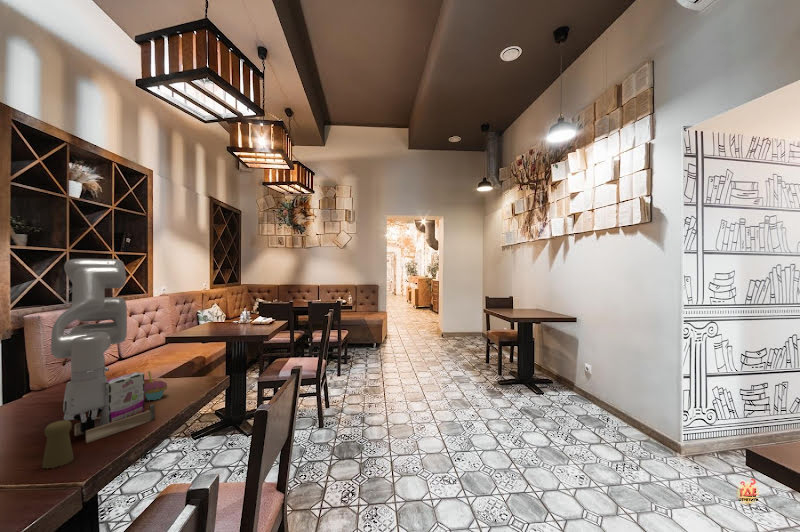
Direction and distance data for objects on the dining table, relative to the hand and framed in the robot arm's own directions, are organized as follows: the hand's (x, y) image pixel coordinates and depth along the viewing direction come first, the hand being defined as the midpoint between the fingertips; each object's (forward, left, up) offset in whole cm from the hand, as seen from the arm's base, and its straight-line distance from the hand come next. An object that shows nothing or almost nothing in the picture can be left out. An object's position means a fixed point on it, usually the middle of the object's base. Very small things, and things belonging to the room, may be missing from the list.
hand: (87, 432), depth 104 cm
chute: (0, +7, -1) cm, 8 cm away
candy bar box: (0, +9, -2) cm, 9 cm away
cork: (+12, -10, -2) cm, 15 cm away
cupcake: (-18, +26, -2) cm, 32 cm away
